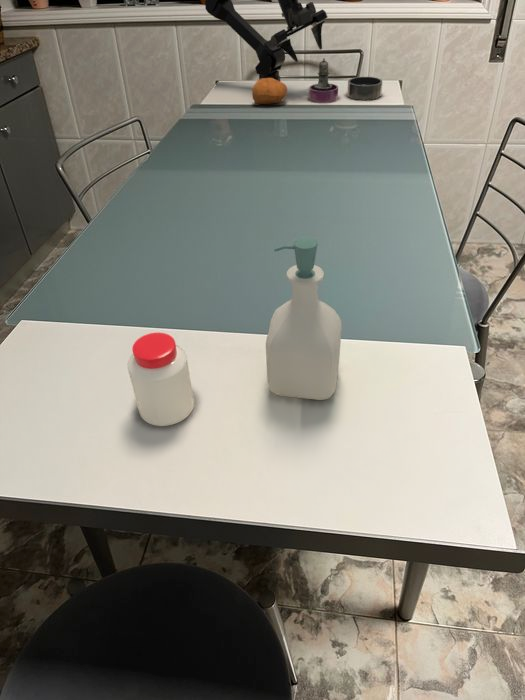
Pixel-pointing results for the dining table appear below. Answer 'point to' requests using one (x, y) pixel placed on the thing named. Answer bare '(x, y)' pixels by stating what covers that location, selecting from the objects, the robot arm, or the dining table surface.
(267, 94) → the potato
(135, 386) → the pill bottle
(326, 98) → the plum bowl
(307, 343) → the soap bottle
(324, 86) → the salt shaker
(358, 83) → the charcoal bowl
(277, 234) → the dining table surface
